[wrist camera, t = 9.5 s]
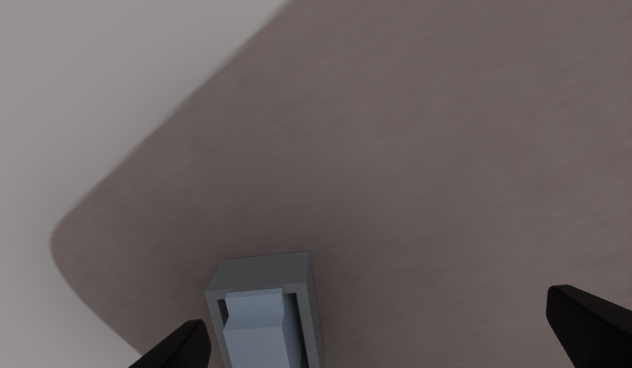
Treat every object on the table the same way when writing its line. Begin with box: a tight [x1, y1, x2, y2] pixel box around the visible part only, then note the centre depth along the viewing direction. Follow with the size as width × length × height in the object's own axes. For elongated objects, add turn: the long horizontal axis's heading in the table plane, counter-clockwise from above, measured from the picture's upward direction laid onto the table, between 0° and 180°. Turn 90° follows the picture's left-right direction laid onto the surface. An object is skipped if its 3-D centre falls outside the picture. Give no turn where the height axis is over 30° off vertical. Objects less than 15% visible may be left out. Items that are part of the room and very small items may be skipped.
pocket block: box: [204, 251, 324, 368], centre depth 21 cm, size 8×6×3 cm
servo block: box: [223, 288, 303, 368], centre depth 20 cm, size 7×3×4 cm, turn 8°
